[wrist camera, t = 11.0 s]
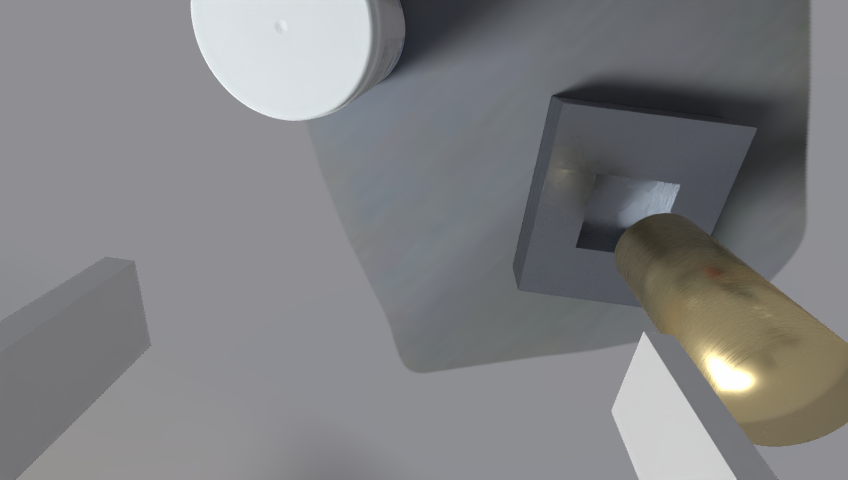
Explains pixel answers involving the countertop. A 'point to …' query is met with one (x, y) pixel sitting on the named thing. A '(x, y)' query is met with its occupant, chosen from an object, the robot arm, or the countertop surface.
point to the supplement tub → (299, 51)
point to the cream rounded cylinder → (738, 331)
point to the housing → (617, 189)
